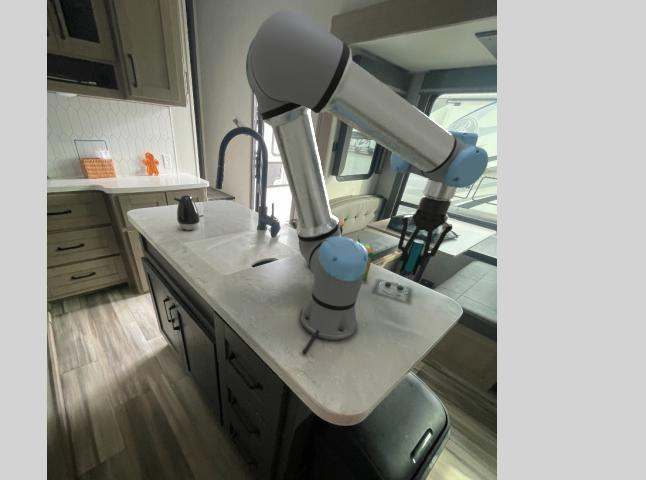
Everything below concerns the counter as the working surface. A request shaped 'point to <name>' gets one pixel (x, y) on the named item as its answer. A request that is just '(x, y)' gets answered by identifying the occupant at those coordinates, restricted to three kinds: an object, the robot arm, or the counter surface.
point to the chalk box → (370, 255)
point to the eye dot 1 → (388, 284)
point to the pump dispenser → (187, 213)
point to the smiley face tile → (392, 294)
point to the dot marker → (413, 257)
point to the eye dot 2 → (400, 287)
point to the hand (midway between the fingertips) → (407, 271)
